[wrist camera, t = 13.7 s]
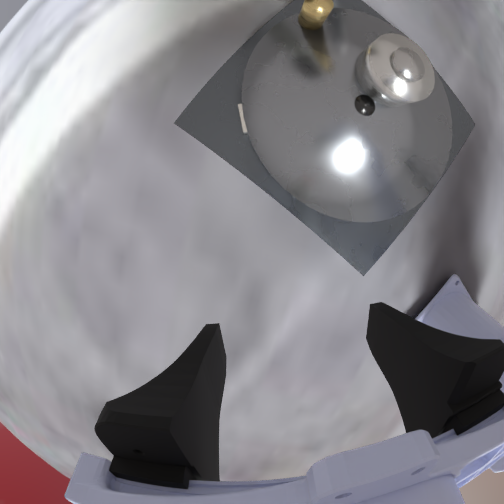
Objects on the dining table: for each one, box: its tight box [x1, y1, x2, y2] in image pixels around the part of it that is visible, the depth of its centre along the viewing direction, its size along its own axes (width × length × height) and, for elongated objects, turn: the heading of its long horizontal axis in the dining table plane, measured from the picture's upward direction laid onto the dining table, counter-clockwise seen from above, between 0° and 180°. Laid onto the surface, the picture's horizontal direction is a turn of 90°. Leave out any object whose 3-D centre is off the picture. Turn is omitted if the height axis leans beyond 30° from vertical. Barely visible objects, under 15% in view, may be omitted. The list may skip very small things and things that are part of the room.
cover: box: [355, 33, 435, 107], centre depth 13 cm, size 5×5×4 cm
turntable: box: [238, 0, 452, 222], centre depth 15 cm, size 17×17×4 cm
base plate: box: [175, 0, 475, 276], centre depth 18 cm, size 19×19×1 cm
